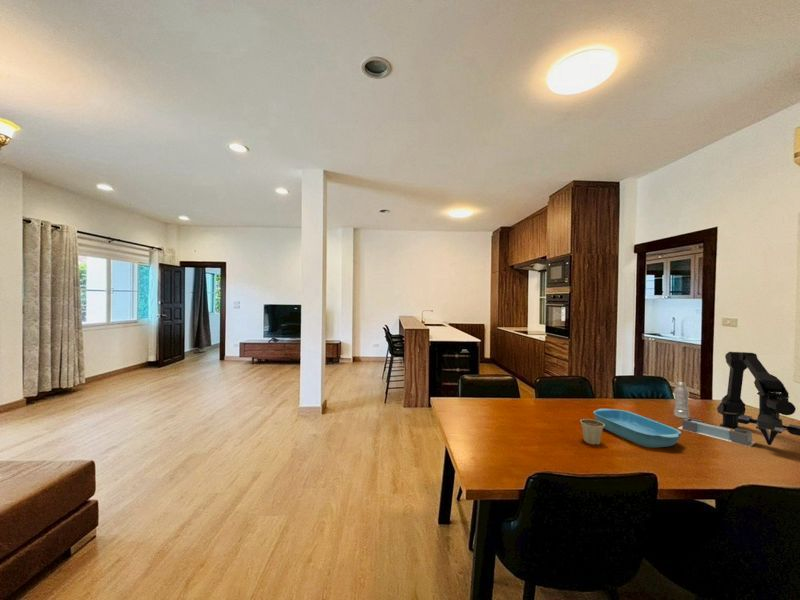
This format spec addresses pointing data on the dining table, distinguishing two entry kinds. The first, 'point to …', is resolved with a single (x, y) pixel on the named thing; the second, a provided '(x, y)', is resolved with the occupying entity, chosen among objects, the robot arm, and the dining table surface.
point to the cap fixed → (690, 424)
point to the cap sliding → (741, 436)
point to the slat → (713, 430)
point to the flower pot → (592, 431)
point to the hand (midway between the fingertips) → (769, 444)
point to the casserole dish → (637, 428)
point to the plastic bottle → (681, 400)
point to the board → (720, 438)
